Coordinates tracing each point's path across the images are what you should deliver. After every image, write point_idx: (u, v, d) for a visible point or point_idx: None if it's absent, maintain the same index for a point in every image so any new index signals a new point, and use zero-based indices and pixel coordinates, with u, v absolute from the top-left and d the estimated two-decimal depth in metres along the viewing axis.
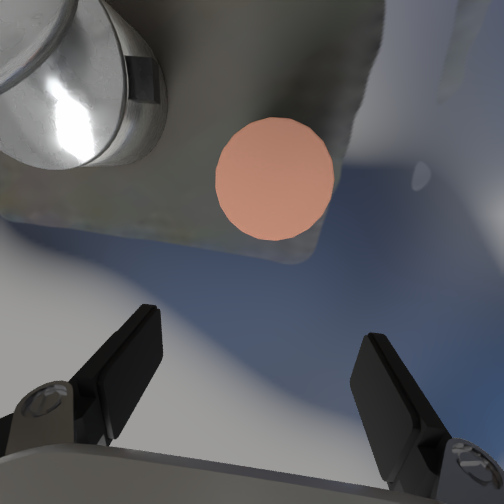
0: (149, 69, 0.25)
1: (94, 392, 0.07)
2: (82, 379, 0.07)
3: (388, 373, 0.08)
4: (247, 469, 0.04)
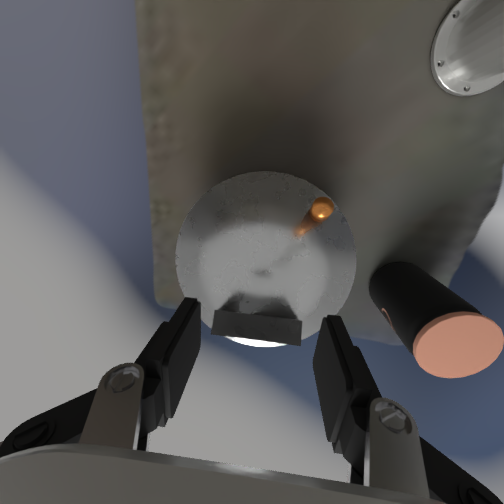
0: None
1: (159, 373, 0.08)
2: (150, 361, 0.08)
3: (335, 347, 0.09)
4: (247, 469, 0.04)
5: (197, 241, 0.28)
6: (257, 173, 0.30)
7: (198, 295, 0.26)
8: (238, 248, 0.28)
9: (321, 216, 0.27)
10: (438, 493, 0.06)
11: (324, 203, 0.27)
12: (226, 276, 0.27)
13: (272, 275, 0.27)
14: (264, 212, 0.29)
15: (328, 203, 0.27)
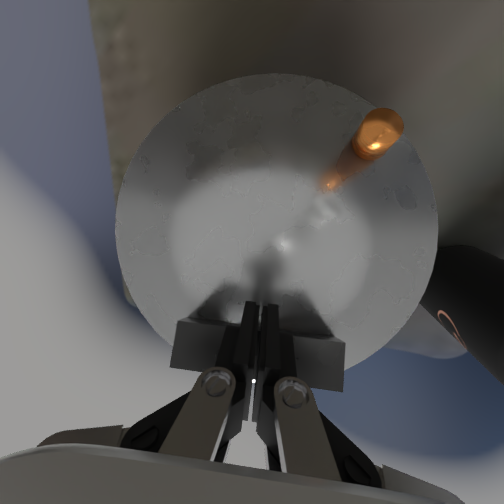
0: None
1: (245, 377, 0.08)
2: (238, 365, 0.08)
3: (263, 332, 0.09)
4: (247, 469, 0.04)
5: (153, 196, 0.16)
6: (259, 78, 0.17)
7: (155, 290, 0.15)
8: (225, 208, 0.16)
9: (378, 145, 0.14)
10: None
11: (385, 120, 0.14)
12: (203, 257, 0.15)
13: (285, 255, 0.15)
14: (271, 144, 0.16)
15: (392, 120, 0.14)
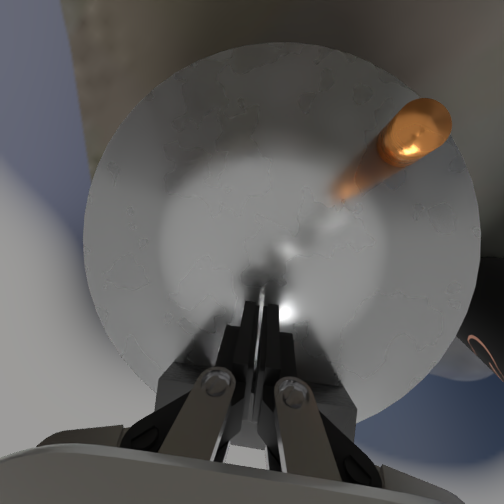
0: None
1: (244, 377, 0.08)
2: (238, 365, 0.08)
3: (263, 332, 0.09)
4: (247, 469, 0.04)
5: (126, 215, 0.13)
6: (256, 50, 0.13)
7: (135, 330, 0.13)
8: (214, 231, 0.13)
9: (414, 153, 0.11)
10: None
11: (426, 117, 0.10)
12: (190, 292, 0.13)
13: (288, 291, 0.12)
14: (272, 146, 0.13)
15: (437, 116, 0.10)
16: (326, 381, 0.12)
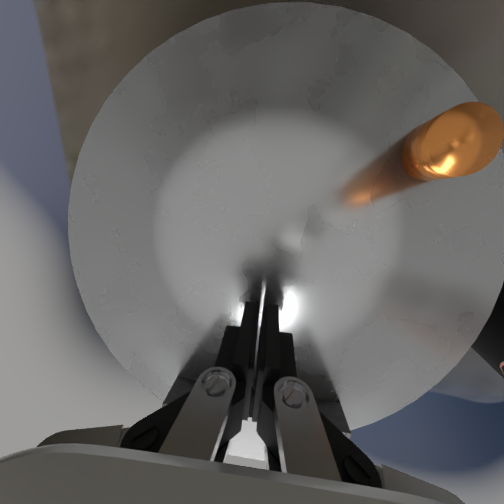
0: None
1: (245, 377, 0.08)
2: (238, 365, 0.08)
3: (263, 332, 0.09)
4: (247, 469, 0.04)
5: (112, 237, 0.12)
6: (252, 16, 0.09)
7: (137, 349, 0.13)
8: (209, 254, 0.12)
9: (447, 176, 0.09)
10: None
11: (471, 129, 0.08)
12: (188, 316, 0.12)
13: (288, 316, 0.12)
14: (272, 155, 0.10)
15: (485, 129, 0.08)
16: (323, 397, 0.13)
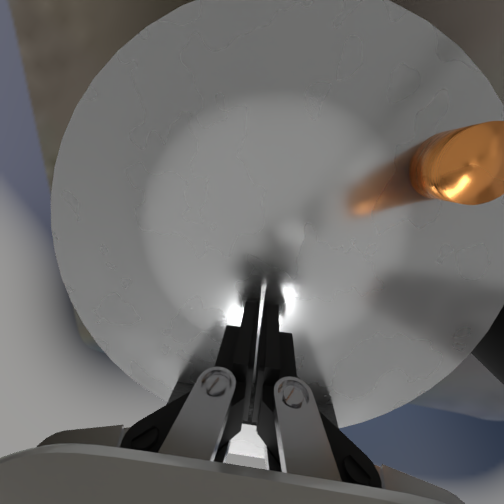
0: None
1: (245, 377, 0.08)
2: (238, 365, 0.08)
3: (263, 332, 0.09)
4: (247, 469, 0.04)
5: (100, 254, 0.11)
6: (238, 0, 0.08)
7: (136, 358, 0.13)
8: (202, 272, 0.11)
9: (457, 203, 0.08)
10: None
11: (491, 153, 0.07)
12: (183, 329, 0.12)
13: (283, 330, 0.12)
14: (266, 169, 0.09)
15: None
16: (317, 400, 0.13)
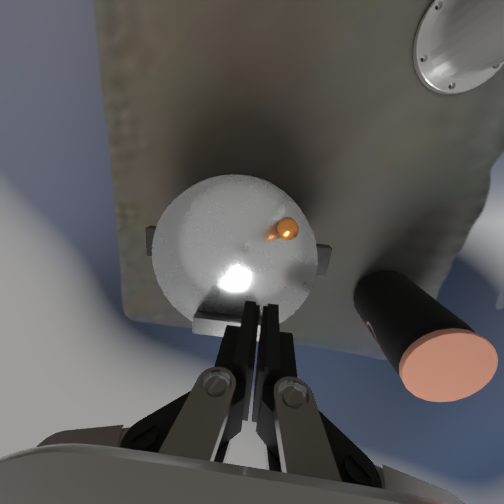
0: (327, 255, 0.32)
1: (245, 377, 0.08)
2: (238, 365, 0.08)
3: (263, 332, 0.09)
4: (247, 469, 0.04)
5: (170, 255, 0.30)
6: (221, 180, 0.27)
7: (180, 299, 0.32)
8: (208, 262, 0.30)
9: (285, 239, 0.27)
10: None
11: (289, 227, 0.26)
12: (200, 285, 0.31)
13: (240, 284, 0.31)
14: (231, 226, 0.28)
15: (293, 227, 0.26)
16: None
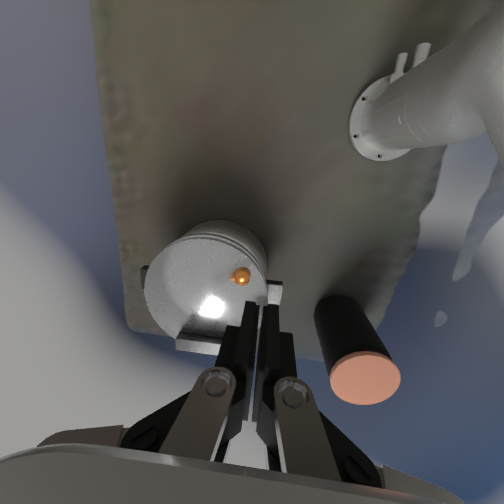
0: (280, 291, 0.41)
1: (245, 377, 0.08)
2: (238, 365, 0.08)
3: (263, 332, 0.09)
4: (247, 469, 0.04)
5: (157, 292, 0.40)
6: (193, 241, 0.36)
7: (166, 323, 0.42)
8: (186, 297, 0.40)
9: (240, 284, 0.36)
10: None
11: (242, 276, 0.35)
12: (181, 314, 0.41)
13: (211, 314, 0.40)
14: (202, 273, 0.38)
15: (245, 276, 0.35)
16: None
